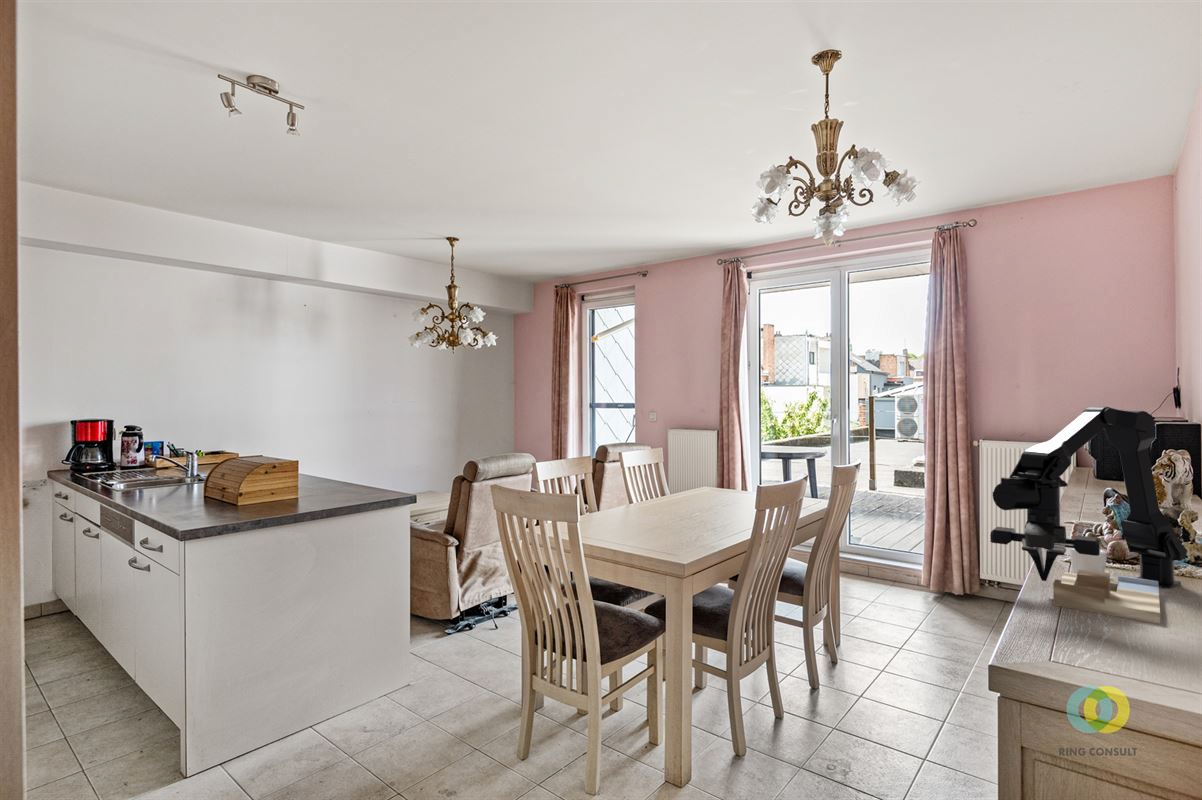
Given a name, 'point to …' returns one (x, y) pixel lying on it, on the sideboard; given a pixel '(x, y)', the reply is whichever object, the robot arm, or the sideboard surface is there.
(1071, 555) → the white cylinder
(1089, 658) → the sideboard surface
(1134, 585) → the strip
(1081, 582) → the walnut block
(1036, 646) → the sideboard surface
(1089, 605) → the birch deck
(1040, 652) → the sideboard surface
